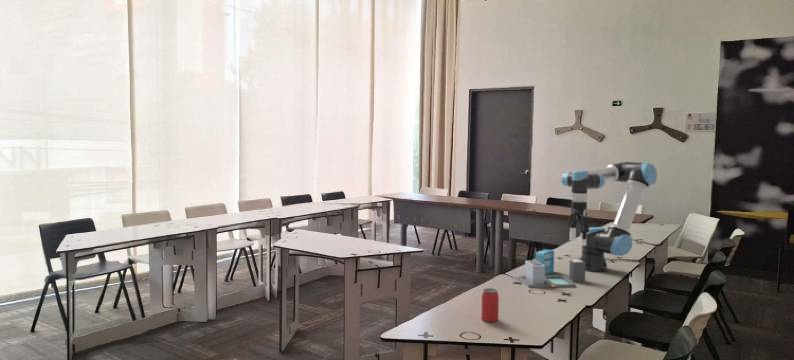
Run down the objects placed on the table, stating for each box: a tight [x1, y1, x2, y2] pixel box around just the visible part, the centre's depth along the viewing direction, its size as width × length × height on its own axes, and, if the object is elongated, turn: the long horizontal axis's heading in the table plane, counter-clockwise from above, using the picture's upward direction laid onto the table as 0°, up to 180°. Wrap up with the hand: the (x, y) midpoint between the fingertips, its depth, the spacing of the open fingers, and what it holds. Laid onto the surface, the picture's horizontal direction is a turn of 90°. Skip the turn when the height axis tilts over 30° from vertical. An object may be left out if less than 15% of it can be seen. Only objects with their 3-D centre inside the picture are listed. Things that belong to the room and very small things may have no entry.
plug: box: [568, 259, 586, 283], centre depth 268 cm, size 6×5×10 cm
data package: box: [535, 248, 555, 275], centre depth 284 cm, size 12×4×12 cm, turn 136°
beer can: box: [481, 288, 500, 323], centre depth 210 cm, size 7×7×12 cm
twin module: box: [524, 259, 546, 285], centre depth 264 cm, size 6×12×10 cm, turn 3°
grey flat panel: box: [518, 275, 577, 289], centre depth 264 cm, size 23×18×2 cm
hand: (577, 243), depth 267 cm, fingers open, 13 cm apart
